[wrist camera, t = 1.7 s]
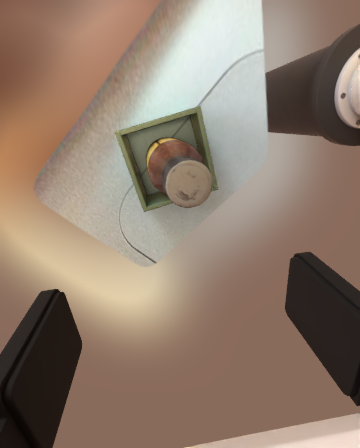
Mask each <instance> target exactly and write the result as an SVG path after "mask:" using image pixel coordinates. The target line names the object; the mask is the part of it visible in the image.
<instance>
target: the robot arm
mask: <svg viewBox="0 0 360 448" xmlns="http://www.w3.org/2000/svg"><path fill="white" fill-rule="evenodd" d="M334 101H335V108H336V111H337V114H338V116H339V117H340V119H341V120H342V121H343V122H344V123H345V124H346V125H348V126H350V127H353V128H360V48H359V49H358V50H357V51H356V52H355V53H354V54H353V55H352V56H351V57H350V58H349V59H348V61H347V62H346V64H345V65H344V67H343V69H342V70H341V72H340V74H339V77H338V80H337V83H336V88H335V97H334ZM285 310H286V313H287V315H288V317H289V318H290V320H291V321H292V322H293V324H294V325H295V326H296V328H297V329H298V331H299V332H300V334H302V336H303V338H304V339H305V340H306V342H307V343H308V345H309V346H310V347H311V349H312V350H313V352H314V353H315V354H316V356H317V357H318V359H319V360H320V361H321V363H322V364H323V366H324V367H325V368H326V370H327V371H328V373H329V374H330V375H331V377H332V378H333V380H334V381H335V382H336V384H337V385H338V387H339V388H340V389H341V391H342V392H343V393H344V394H345V395H347V396H350V397H351V399H352V400H353V401H354V403H355V404H356V405H357V406H360V291H359V290H357V289H356V288H355V287H354V286H352V285H351V284H350V283H349V282H347V281H346V280H345V279H343V278H342V277H341V276H340V275H339V274H337V273H336V272H335V271H334V270H332V269H331V268H330V267H329V266H327V265H326V264H325V263H324V262H322V261H321V260H320V259H319V258H317V257H316V256H315V255H314V254H312V253H311V252H304V253H297V254H295V255H294V257H293V258H291V259H290V266H289V275H288V285H287V294H286V303H285ZM81 349H82V340H81V337H80V335H79V332H78V329H77V326H76V324H75V321H74V318H73V315H72V313H71V310H70V307H69V304H68V302H67V299H66V296H65V294H64V292H60V291H59V290H58V289H53V290H47V291H42V292H40V294H39V295H38V296H37V298H36V300H35V301H34V303H33V304H32V306H31V307H30V309H29V310H28V312H27V314H26V315H25V317H24V318H23V320H22V321H21V323H20V324H19V326H18V327H17V329H16V331H15V332H14V334H13V335H12V337H11V338H10V340H9V342H8V343H7V345H6V346H5V348H4V349H3V351H2V352H1V354H0V448H52V447H53V444H54V441H55V437H56V434H57V431H58V427H59V424H60V420H61V417H62V414H63V410H64V407H65V404H66V400H67V397H68V394H69V390H70V387H71V383H72V380H73V377H74V373H75V370H76V367H77V363H78V360H79V357H80V353H81ZM186 448H360V413H357V414H352V415H347V416H342V417H337V418H331V419H327V420H321V421H316V422H311V423H306V424H301V425H296V426H291V427H286V428H281V429H275V430H270V431H265V432H260V433H255V434H250V435H245V436H241V437H235V438H230V439H225V440H221V441H215V442H211V443H205V444H200V445H196V446H191V447H186Z"/></svg>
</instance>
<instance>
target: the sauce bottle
mask: <svg viewBox="0 0 360 448" xmlns="http://www.w3.org/2000/svg"><path fill="white" fill-rule="evenodd" d="M146 162H147V167H148V172H149V176H150V179H151V181H152V183H153V185H154V186H155V187H156V188H157V189H159V190H160V191H161V192H163V193H165V194H166V195H167V196H168V198H169V199H170V200H171V201H172V202H173V203H174V204H176V205H178V206H180V207H185V208H190V207H195V206H198V205H200V204H202V203H203V202H204V201H205V200H206V199H207V198H208V196H209V194H210V193H211V190H212V184H213V180H212V176H211V172H210V171H209V169H208V168H207V167H206V166H205V165H204V164H203V158H202V156H201V155H200V154H199V153H198V152H197V150H196V149H195V148H194V147H192V146H191V145H189V144H187V143H185V142H183V141H180V140H176V139H173V138H168V137H167V138H160V139H158V140H156V141H155V142H153V143H152V144H151V146H150V147H149V149H148V151H147V155H146Z"/></svg>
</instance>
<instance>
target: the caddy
mask: <svg viewBox="0 0 360 448" xmlns="http://www.w3.org/2000/svg"><path fill="white" fill-rule="evenodd" d="M187 115H190V118H191V122H192V126H193V131H194V135H195V139H196V144H197V148H198V152H199V154H200V155H201V156H202V158H203V164H204V165H205V166H206V167H207V168H208V169H209V171H210V172H211V176H212V180H213V184H212V190H211V191H214V190H218V186H217V182H216V177H215V172H214V168H213V163H212V158H211V154H210V149H209V144H208V140H207V135H206V130H205V126H204V121H203V116H202V112H201V107H200V106H199V107H195V108H192V109H189V110H185V111H182V112H179V113H176V114H172V115H169V116H166V117H162V118H159V119H156V120H153V121H149V122H146V123H143V124H139V125H136V126H133V127H130V128H126V129H123V130H120V131H116V132H115V134H116V137H117V140H118V142H119V145H120V148H121V151H122V153H123V156H124V159H125V162H126V164H127V167H128V170H129V172H130V175H131V178H132V181H133V183H134V186H135V189H136V192H137V194H138V197H139V200H140V203H141V205H142V208H143V211H144V212H146V211H149V210H152V209H156V208H159V207H162V206H165V205H169V204H172V203H173V202H172V201H171V200H170V199H169V198H168V196H167V195H166V194H165V193H163V192H161V191H160V192H157V193H154V194H151V195H147V194H146V192H145V189H144V186H143V183H142V180H141V177H140V174H139V172H138V169H137V166H136V163H135V160H134V157H133V154H132V152H131V149H130V146H129V143H128V140H127V137H126V134H128V133H131V132H134V131H138V130H141V129H144V128H147V127H151V126H154V125H157V124H161V123H164V122H167V121H170V120H174V119H177V118H180V117H184V116H187Z"/></svg>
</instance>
